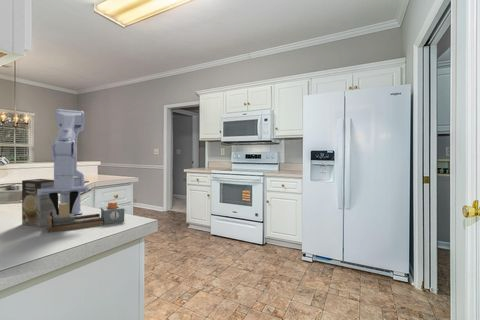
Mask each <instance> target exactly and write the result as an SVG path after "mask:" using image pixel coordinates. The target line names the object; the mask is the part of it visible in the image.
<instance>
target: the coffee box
mask: <svg viewBox="0 0 480 320" xmlns="http://www.w3.org/2000/svg"><path fill="white" fill-rule="evenodd" d="M21 186H22V187H21V208H22V209H21V224H22V225H26V226H32V227H38V228H39V227H44V226H48V216H52V219H53V216H57V215H56V210H55V207H54V204H53V202H52V201H51V199H50V197H49V194H45V195H37V189H44V188H54V179H46V178H36V179H35V178H34V179H26V180H23V179H22V181H21Z"/></svg>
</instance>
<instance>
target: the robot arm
mask: <svg viewBox="0 0 480 320" xmlns="http://www.w3.org/2000/svg"><path fill="white" fill-rule="evenodd" d="M55 123H56V125H57V128H58V130H57V133H56V135H55V142H51V155H52V163H53V180H54V188H44V189H37V195H45V194H49V197H50V199H51V201H52V202H53V204H54V207H55V210H56V216H59V204H60V203H69V214H74V216H78V215H83V211H82V209H81V206H82V205H81V198H82V197H81V193H88V192H89V186H88V185H87V186H86V185H85V174H84V173H83V172H82V171H80V170H78V165H77V164H78V136H79V133H81V132H83V131H84V129H85V111H84V110H71V109H61V108H57V109H55Z"/></svg>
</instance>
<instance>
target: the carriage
mask: <svg viewBox="0 0 480 320" xmlns="http://www.w3.org/2000/svg"><path fill="white" fill-rule="evenodd" d="M58 208H59V215H56V216H53V224H54V223H62V222H70V221H75V216H76V215H74V214H69V203H60V202H59V203H58Z"/></svg>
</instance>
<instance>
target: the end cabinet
mask: <svg viewBox="0 0 480 320" xmlns="http://www.w3.org/2000/svg"><path fill="white" fill-rule="evenodd" d="M100 217H101V218H102V217H103V225H106V224H113V223H114V224H115V223H121V222H125V207H124V206H123V205H119V204H117V208H116V209H108V205H107V206H101V207H100Z"/></svg>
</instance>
